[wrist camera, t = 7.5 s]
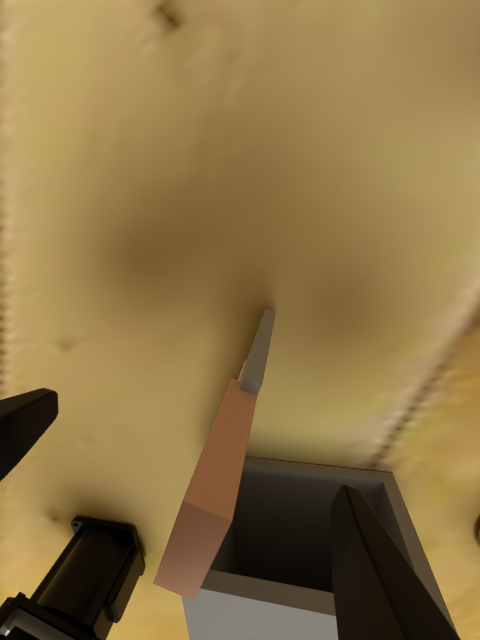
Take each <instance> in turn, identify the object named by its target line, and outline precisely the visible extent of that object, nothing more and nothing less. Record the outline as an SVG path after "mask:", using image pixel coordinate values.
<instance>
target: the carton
mask: <svg viewBox="0 0 480 640" xmlns="http://www.w3.org/2000/svg"><path fill="white" fill-rule="evenodd" d="M342 484H348V485H351V486H354V487H356V488H358V489H359V490H360V492H361V493H362V495H363V496H364V498H365V499H366V501H367V502H368V504H369V505H370V507H371V508H372V509H373V511H374V512H375V514H376V515H377V517H378V518H379V520H380V521H381V523H382V524H383V526H384V527H385V529H386V530H387V532H388V533H389V535H390V536H391V537H392V539H393V540H394V542H395V543H396V545H397V546H398V548H399V549H400V551H401V552H402V554H403V555H404V557H405V558H406V560H407V561H408V563H409V564H410V566H411V567H412V568H413V570H414V571H415V573H416V574H417V576H418V577H419V579H420V580H421V582H422V583H423V585H424V586H425V588H426V589H427V591H428V592H429V594H430V595H431V596H432V598H433V599H434V601H435V602H436V604H437V605H438V607H439V608H440V610H441V611H442V613H443V614H444V616H445V617H446V619H447V620H448V622H449V623H450V625H451V626H452V627H453V629H454V630H455V632H456V629H455V627H454V624H453V622H452V619H451V617H450V614H449V612H448V609H447V607H446V604H445V602H444V600H443V597H442V595H441V592H440V590H439V587H438V585H437V582H436V580H435V577H434V575H433V572H432V570H431V567H430V565H429V562H428V560H427V557H426V555H425V553H424V550H423V548H422V545H421V543H420V540H419V538H418V535H417V533H416V530H415V528H414V525H413V523H412V520H411V518H410V515H409V513H408V511H407V508H406V506H405V503H404V501H403V498H402V496H401V493H400V491H399V488H398V486H397V483H396V481H395V478H394V476H393V473H389V472H380V471H371V470H362V469H353V468H343V467H334V466H325V465H316V464H307V463H298V462H289V461H280V460H271V459H262V458H253V457H245V459H244V464H243V469H242V474H241V479H240V484H239V489H238V494H237V499H236V504H235V509H234V514H233V519H232V523H231V525H230V527H229V529H228V531H227V533H226V535H225V537H224V539H223V541H222V543H221V545H220V547H219V549H218V552H217V554H216V556H215V558H214V560H213V562H212V564H211V566H210V568H209V570H208V572H207V574H206V576H205V579H204V581H203V583H202V585H201V587H200V589H199V591H198V593H197V595H196V597H195V599H194V601H193V600H190V599H188V598H186V597H183V596H182V600H183V606H184V611H185V616H186V622H187V627H188V633H189V638H190V640H338V633H337V623H336V613H335V604H334V594H333V583H332V565H331V506H332V502H333V500H334V498H335V496H336V494H337V492H338V490H339V488H340V486H341V485H342ZM456 633H457V632H456ZM457 635H458V634H457Z"/></svg>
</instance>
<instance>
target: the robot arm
mask: <svg viewBox="0 0 480 640" xmlns="http://www.w3.org/2000/svg"><path fill="white" fill-rule="evenodd" d="M57 415H58V394H57V392H56V391H53V390H50V389H47V388H41V389H37V390H34V391H30V392H27V393H23V394H20V395H16V396H13V397H10V398H6V399H3V400H0V481H1V480H2V479H3V478H4V477H5V476H6V475H7V474H8V473H9V472H10V471H11V470H12V469H13V468H14V467H15V466H16V465H17V464H18V463H19V462H20V461H21V459H22V458H23V457H24V456H25V455H26V454H27V452H28V451H29V450H30V449H31V448H32V446H33V445H34V444H35V443H36V442H37V441H38V439H39V438H40V437H41V436H42V435H43V433H44V432H45V431H46V430H47V429H48V427H49V426H50V425H51V424H52V423H53V421H54V420H55V419H56V417H57ZM71 525H72V528H73V531H74V534H75V535H74V536H73V538H72V539H71V540H70V542H69V543H68V545H67V546H66V548H65V549H64V550H63V552H62V553H61V555H60V556H59V558H58V559H57V560H56V562H55V563H54V565H53V566H52V568H51V569H50V570H49V572H48V573H47V575H46V576H45V578H44V579H43V580H42V582H41V583H40V585H39V586H38V588H37V589H36V590H35V592H34V593H33V595H32V596H31V598H30V599H28V598H27V597H25V596H26V595H25V594H23V593H21V592H19V593H18V595H17V596H16V597H15V598H12V597H8V598H7V599H6V600H5V602H4V603H3V604H2V606H1V607H0V640H106V638H107V636H108V634H109V631H110V629H111V627H112V625H113V622H114V623H118V622H119V621H120V620H121V617H122V615H123V613H124V611H125V608H126V606H127V604H128V601H129V599H130V597H131V594H132V592H133V590H134V587H135V585H136V583H137V580H138V578H139V576H142V575H143V573H144V570H145V568H144V564H143V560H142V555H141V551H140V547H139V543H138V539H137V535H136V531H135V529H134V528H133V527H132V526H128V525H122V524H116V523H110V522H104V521H99V520H93V519H87V518H81V517H75V518H74V519H73V520H72V522H71ZM331 565H332V583H333V594H334V604H335V613H336V623H337V633H338V640H461V639H460V638H459V636H458V635H457V633H456V632H455V630H454V629H453V627H452V626H451V625H450V623H449V622H448V620H447V619H446V617H445V616H444V614H443V613H442V611H441V610H440V608H439V607H438V605H437V604H436V602H435V601H434V599H433V598H432V596H431V595H430V594H429V592H428V591H427V589H426V588H425V586H424V585H423V583H422V582H421V580H420V579H419V577H418V576H417V574H416V573H415V571H414V570H413V568H412V567H411V566H410V564H409V563H408V561H407V560H406V558H405V557H404V555H403V554H402V552H401V551H400V549H399V548H398V546H397V545H396V543H395V542H394V540H393V539H392V537H391V536H390V535H389V533H388V532H387V530H386V529H385V527H384V526H383V524H382V523H381V521H380V520H379V518H378V517H377V515H376V514H375V512H374V511H373V509H372V508H371V507H370V505H369V504H368V502H367V501H366V499H365V498H364V496H363V495H362V493H361V492H360V490H359V489H358V488H356V487H354V486H351V485H348V484H342V485H341V486H340V488H339V490H338V492H337V494H336V496H335V498H334V500H333V502H332V506H331ZM7 630H10V632H9V634H8V635H7V636H5V635H4V634H5V633H6V631H7Z"/></svg>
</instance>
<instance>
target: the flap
mask: <svg viewBox="0 0 480 640" xmlns="http://www.w3.org/2000/svg"><path fill="white" fill-rule="evenodd" d="M274 317H275V311H272V310H270V309H267V308H266V309H265V311H264V314H263V317H262V319H261V322H260V325H259V327H258V330H257V333H256V335H255V338H254V341H253V343H252V346H251V349H250V351H249V354H248V356H247V359H246V360H245V361H244V364H243V367H242V369H241V372H240V375H239V377H238V380H234V379H232V378H231V379H230V382H229V384H228V387H227V390H226V392H225V395H224V397H223V400H222V402H221V405H220V407H219V410H218V412H217V415H216V417H215V420H214V423H213V425H212V428H211V430H210V433H209V435H208V438H207V440H206V443H205V445H204V448H203V451H202V453H201V456H200V458H199V461H198V463H197V466H196V468H195V471H194V473H193V476H192V478H191V481H190V484H189V486H188V489H187V491H186V494H185V496H184V499H183V501H182V504H181V507H180V510H179V513H178V515H177V518H176V521H175V524H174V527H173V530H172V532H171V535H170V538H169V541H168V544H167V546H166V549H165V552H164V555H163V558H162V560H161V563H160V566H159V569H158V572H157V575H156V577H155V580H154V583H153V584H156V585H158V586H160V587H163V588H165V589H167V590H170V591H172V592H174V593H176V594H179V595H181V596H183V597H186V598H188V599H190V600H193V601H194V599H195V597H196V595H197V593H198V591H199V589H200V587H201V585H202V583H203V581H204V579H205V576H206V574H207V572H208V570H209V568H210V566H211V564H212V562H213V560H214V558H215V556H216V554H217V552H218V549H219V547H220V545H221V543H222V541H223V539H224V537H225V535H226V533H227V531H228V529H229V527H230V525H231V523H232V519H233V514H234V509H235V504H236V499H237V494H238V489H239V484H240V479H241V474H242V469H243V464H244V459H245V454H246V449H247V444H248V439H249V434H250V429H251V424H252V419H253V414H254V409H255V404H256V399H257V395H258V393H259V390H260V388H261V386H262V383H263V377H264V372H265V367H266V361H267V356H268V350H269V345H270V339H271V334H272V328H273V323H274Z"/></svg>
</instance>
